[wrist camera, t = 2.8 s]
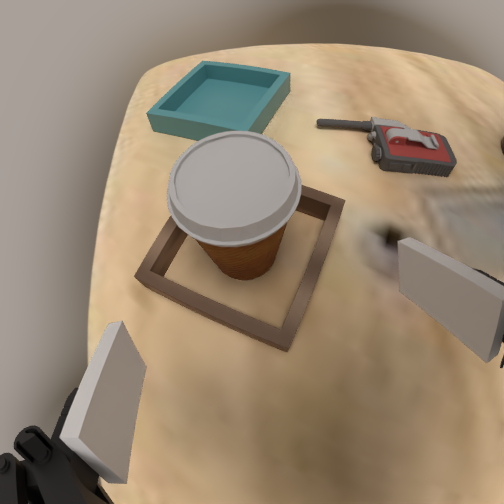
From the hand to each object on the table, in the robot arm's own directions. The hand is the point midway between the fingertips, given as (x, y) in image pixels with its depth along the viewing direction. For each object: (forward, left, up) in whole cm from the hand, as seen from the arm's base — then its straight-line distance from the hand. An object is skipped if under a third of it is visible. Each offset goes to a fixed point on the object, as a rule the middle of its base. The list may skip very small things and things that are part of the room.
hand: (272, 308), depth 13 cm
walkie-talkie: (-29, +5, -15) cm, 33 cm away
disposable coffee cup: (-8, -6, -15) cm, 18 cm away
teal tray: (-28, -19, -14) cm, 37 cm away
